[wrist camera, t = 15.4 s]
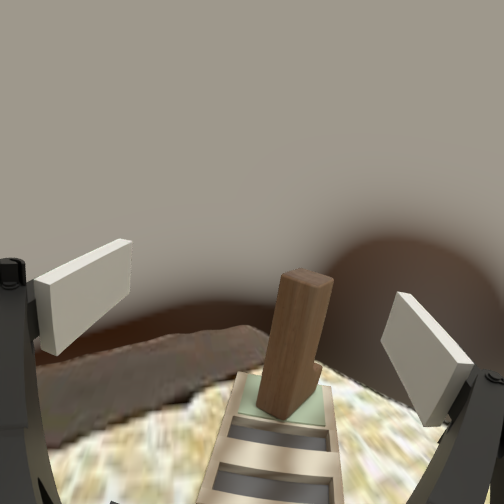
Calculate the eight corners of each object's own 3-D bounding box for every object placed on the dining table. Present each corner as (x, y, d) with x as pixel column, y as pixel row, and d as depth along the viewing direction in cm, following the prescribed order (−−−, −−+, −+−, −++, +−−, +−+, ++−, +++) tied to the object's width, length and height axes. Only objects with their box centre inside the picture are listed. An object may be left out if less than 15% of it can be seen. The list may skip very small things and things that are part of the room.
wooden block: (289, 378, 45) (316, 261, 41) (316, 391, 42) (348, 271, 38) (253, 406, 38) (280, 272, 34) (283, 422, 35) (319, 285, 31)
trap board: (195, 511, 23) (196, 500, 22) (236, 381, 46) (238, 369, 46) (338, 529, 22) (346, 519, 21) (327, 396, 45) (331, 384, 44)
